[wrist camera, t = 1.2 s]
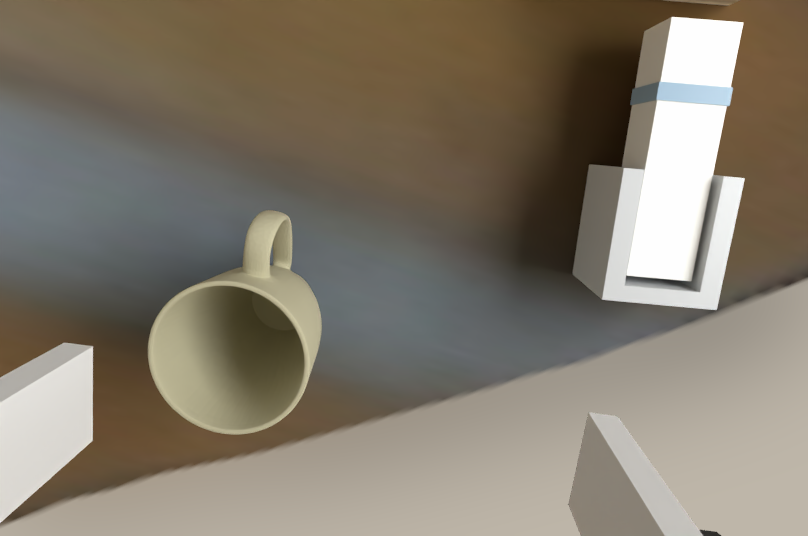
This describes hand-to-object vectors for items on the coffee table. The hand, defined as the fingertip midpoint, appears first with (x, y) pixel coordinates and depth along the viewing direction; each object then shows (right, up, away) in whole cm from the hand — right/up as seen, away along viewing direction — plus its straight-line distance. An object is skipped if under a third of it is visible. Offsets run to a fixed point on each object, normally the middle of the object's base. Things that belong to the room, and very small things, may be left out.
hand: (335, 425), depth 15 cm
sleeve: (+18, +7, +25) cm, 32 cm away
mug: (-7, +3, +27) cm, 29 cm away
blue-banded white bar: (+18, +12, +22) cm, 31 cm away
